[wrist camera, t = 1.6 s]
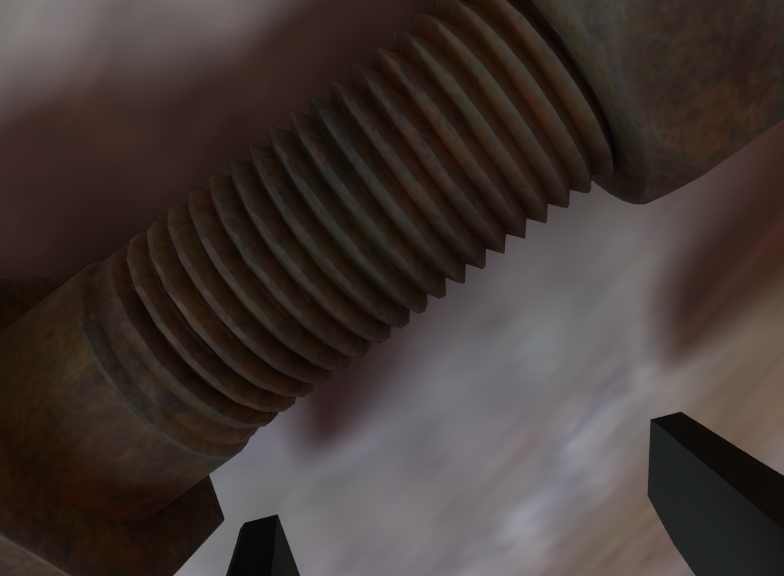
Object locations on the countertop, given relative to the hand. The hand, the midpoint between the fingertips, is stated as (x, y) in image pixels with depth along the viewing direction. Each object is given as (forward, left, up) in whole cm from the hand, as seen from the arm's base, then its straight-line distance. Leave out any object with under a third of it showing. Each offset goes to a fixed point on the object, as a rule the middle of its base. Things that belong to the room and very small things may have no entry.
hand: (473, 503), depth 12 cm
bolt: (+7, 0, -2) cm, 7 cm away
